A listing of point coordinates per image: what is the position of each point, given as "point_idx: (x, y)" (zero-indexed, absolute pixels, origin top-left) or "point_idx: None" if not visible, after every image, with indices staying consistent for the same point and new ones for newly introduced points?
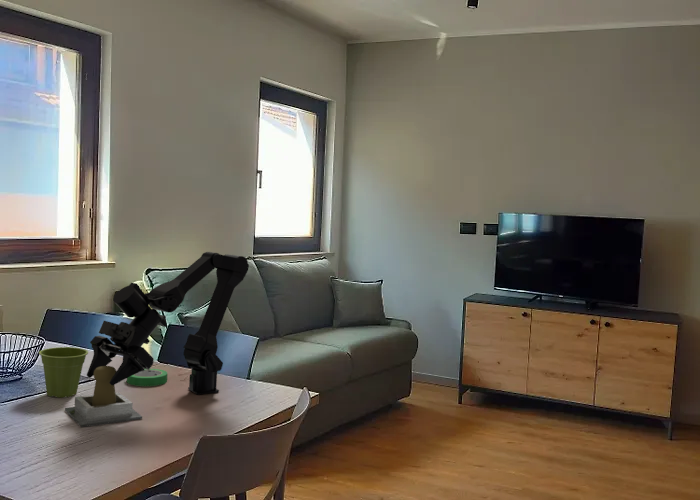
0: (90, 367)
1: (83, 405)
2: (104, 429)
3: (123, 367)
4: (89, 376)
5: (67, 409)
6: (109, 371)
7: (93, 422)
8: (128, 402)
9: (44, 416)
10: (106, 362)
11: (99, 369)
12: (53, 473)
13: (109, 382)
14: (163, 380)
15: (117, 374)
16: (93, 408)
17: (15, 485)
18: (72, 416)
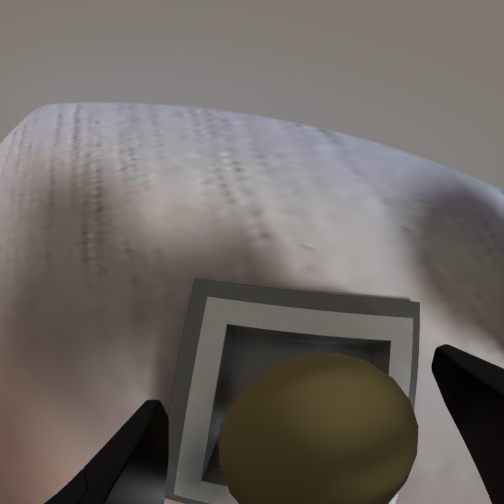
0: (481, 368)
1: (274, 306)
2: (134, 334)
3: (55, 495)
4: (435, 365)
5: (399, 304)
6: (224, 454)
7: (193, 324)
8: (190, 486)
9: (379, 228)
10: (502, 500)
11: (297, 384)
12: (29, 152)
13: (157, 400)
14: None
15: (101, 449)
16: (202, 322)
17: (44, 112)
18: (314, 293)
